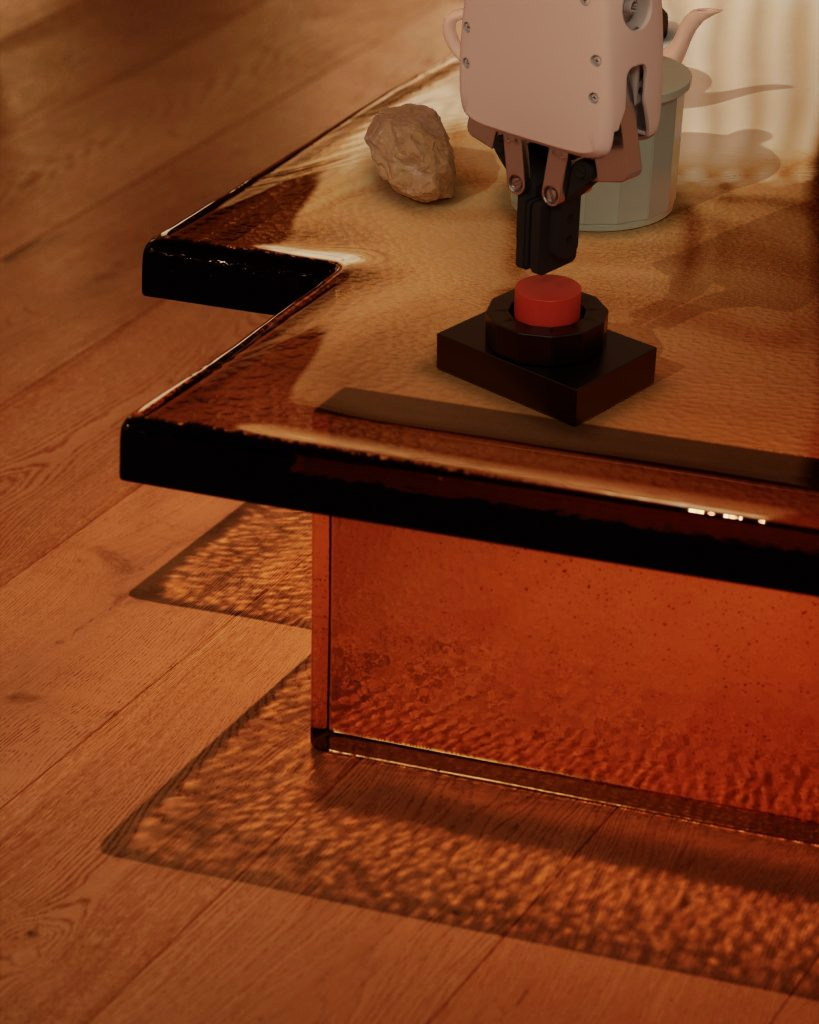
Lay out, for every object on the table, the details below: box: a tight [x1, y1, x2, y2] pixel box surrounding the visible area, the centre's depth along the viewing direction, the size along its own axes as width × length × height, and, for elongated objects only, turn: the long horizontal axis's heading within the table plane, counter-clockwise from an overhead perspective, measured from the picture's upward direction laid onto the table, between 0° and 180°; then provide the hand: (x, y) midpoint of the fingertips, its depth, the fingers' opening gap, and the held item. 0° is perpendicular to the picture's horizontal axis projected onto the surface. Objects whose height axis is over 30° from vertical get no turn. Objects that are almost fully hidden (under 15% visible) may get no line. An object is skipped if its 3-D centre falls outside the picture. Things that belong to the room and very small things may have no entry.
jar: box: [509, 94, 685, 233], centre depth 110 cm, size 11×11×8 cm
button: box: [514, 273, 583, 327], centre depth 87 cm, size 4×4×2 cm
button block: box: [436, 288, 658, 427], centre depth 88 cm, size 10×7×4 cm
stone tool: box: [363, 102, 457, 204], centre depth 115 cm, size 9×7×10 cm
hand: (545, 263), depth 86 cm, fingers closed
